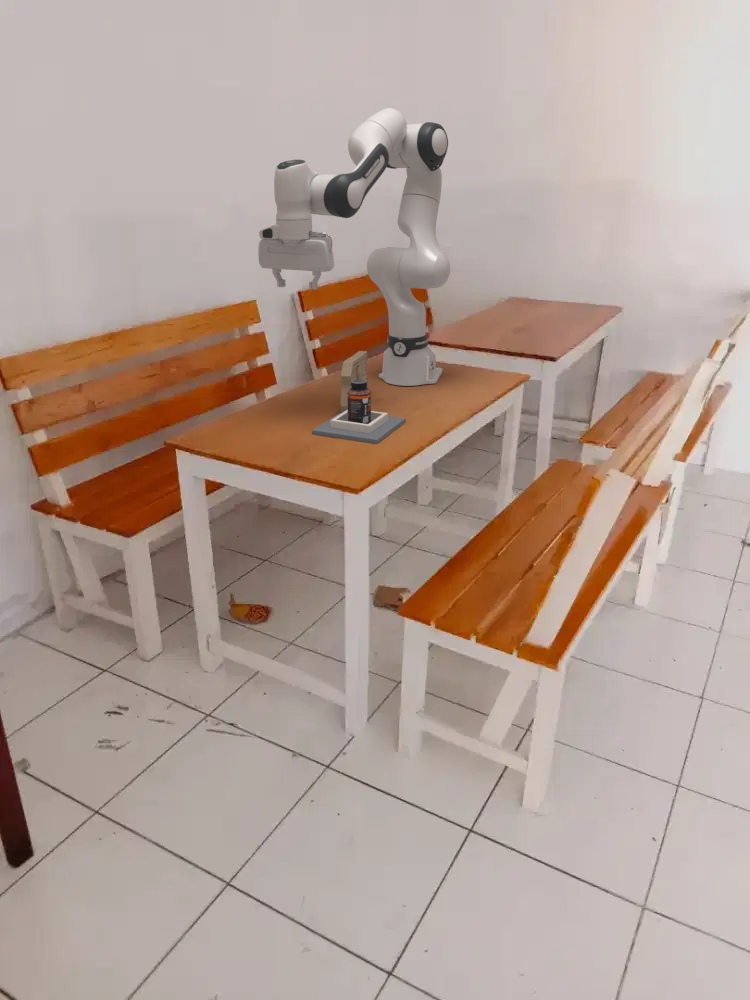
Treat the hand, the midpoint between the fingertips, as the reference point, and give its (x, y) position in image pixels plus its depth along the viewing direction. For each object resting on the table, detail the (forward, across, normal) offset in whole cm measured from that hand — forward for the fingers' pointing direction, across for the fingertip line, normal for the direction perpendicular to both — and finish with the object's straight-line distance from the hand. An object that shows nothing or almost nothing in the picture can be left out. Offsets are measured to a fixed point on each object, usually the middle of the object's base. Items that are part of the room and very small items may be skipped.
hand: (297, 288), depth 201 cm
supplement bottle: (+32, -20, +6) cm, 38 cm away
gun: (+34, -10, -11) cm, 37 cm away
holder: (+33, -20, +6) cm, 39 cm away
